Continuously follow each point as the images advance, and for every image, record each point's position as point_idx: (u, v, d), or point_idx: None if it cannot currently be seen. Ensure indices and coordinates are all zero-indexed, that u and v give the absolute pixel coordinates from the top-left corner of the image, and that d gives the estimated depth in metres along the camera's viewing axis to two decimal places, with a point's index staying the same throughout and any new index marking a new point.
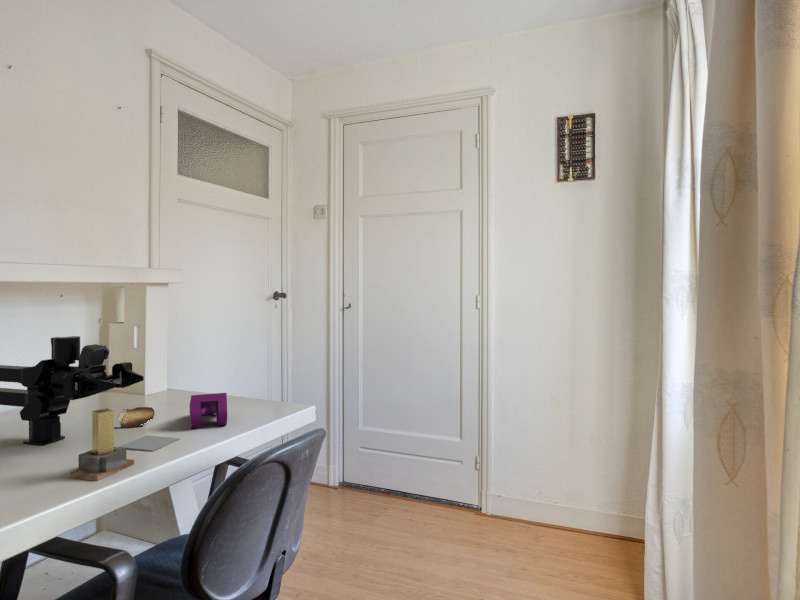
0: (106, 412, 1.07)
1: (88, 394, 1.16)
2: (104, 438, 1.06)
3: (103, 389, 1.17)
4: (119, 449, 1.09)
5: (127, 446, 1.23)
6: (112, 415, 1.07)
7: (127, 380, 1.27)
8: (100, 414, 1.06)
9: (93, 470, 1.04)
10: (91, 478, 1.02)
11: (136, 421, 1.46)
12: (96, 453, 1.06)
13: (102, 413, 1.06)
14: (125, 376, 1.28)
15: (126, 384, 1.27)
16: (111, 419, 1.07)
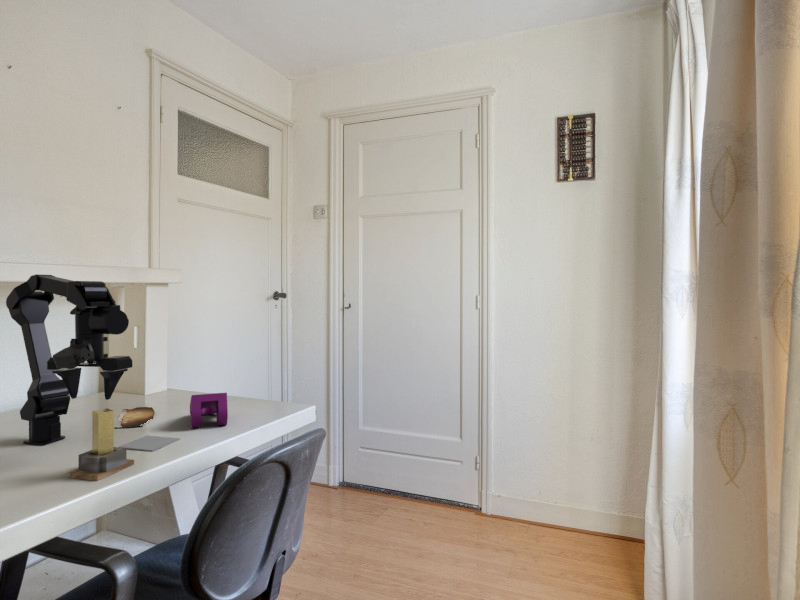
0: (106, 412, 1.07)
1: None
2: (104, 438, 1.06)
3: None
4: (119, 449, 1.09)
5: (127, 446, 1.23)
6: (112, 415, 1.07)
7: None
8: (100, 414, 1.06)
9: (93, 470, 1.04)
10: (91, 478, 1.02)
11: (136, 421, 1.46)
12: (96, 453, 1.06)
13: (102, 413, 1.06)
14: None
15: None
16: (111, 419, 1.07)
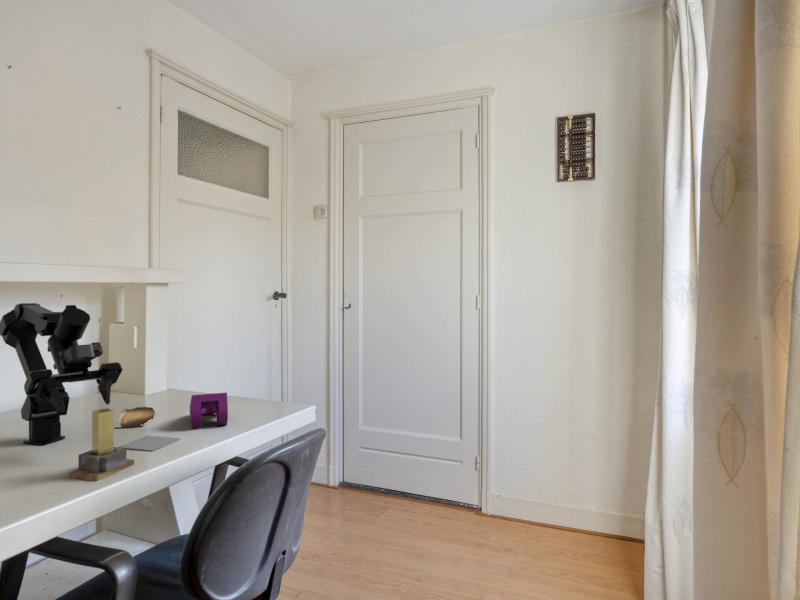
0: (106, 412, 1.07)
1: (44, 398, 1.10)
2: (104, 438, 1.06)
3: (54, 405, 1.09)
4: (119, 449, 1.09)
5: (127, 446, 1.23)
6: (112, 415, 1.07)
7: (102, 388, 1.19)
8: (100, 414, 1.06)
9: (93, 470, 1.04)
10: (91, 478, 1.02)
11: (136, 421, 1.46)
12: (96, 453, 1.06)
13: (102, 413, 1.06)
14: (102, 384, 1.19)
15: (100, 390, 1.19)
16: (111, 419, 1.07)
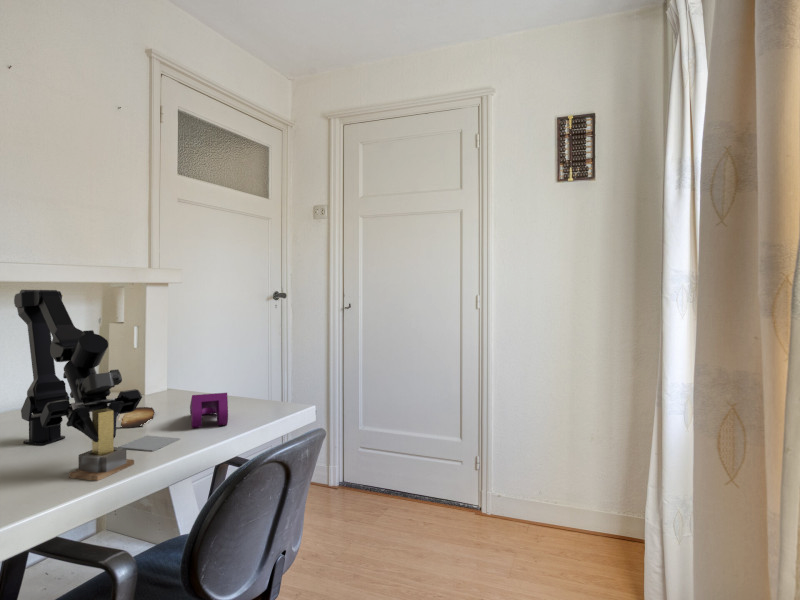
0: (106, 412, 1.07)
1: (76, 427, 1.07)
2: (104, 438, 1.06)
3: (88, 435, 1.06)
4: (119, 449, 1.09)
5: (127, 446, 1.23)
6: (112, 415, 1.07)
7: None
8: (100, 414, 1.06)
9: (93, 470, 1.04)
10: (91, 478, 1.02)
11: (136, 421, 1.46)
12: (96, 453, 1.06)
13: (102, 413, 1.06)
14: None
15: None
16: (111, 418, 1.07)
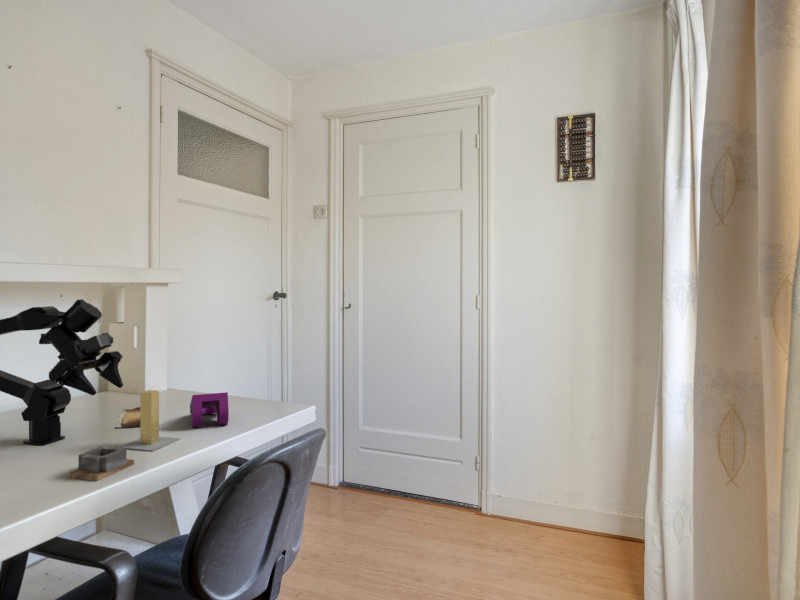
0: (155, 392, 1.26)
1: (68, 384, 1.20)
2: (154, 414, 1.26)
3: (83, 390, 1.20)
4: (119, 449, 1.09)
5: (127, 446, 1.23)
6: (158, 394, 1.27)
7: (108, 375, 1.31)
8: (152, 394, 1.25)
9: (93, 470, 1.04)
10: (91, 478, 1.02)
11: (136, 421, 1.46)
12: (147, 427, 1.25)
13: (153, 393, 1.25)
14: (109, 370, 1.31)
15: (105, 376, 1.31)
16: (157, 397, 1.27)
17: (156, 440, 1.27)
